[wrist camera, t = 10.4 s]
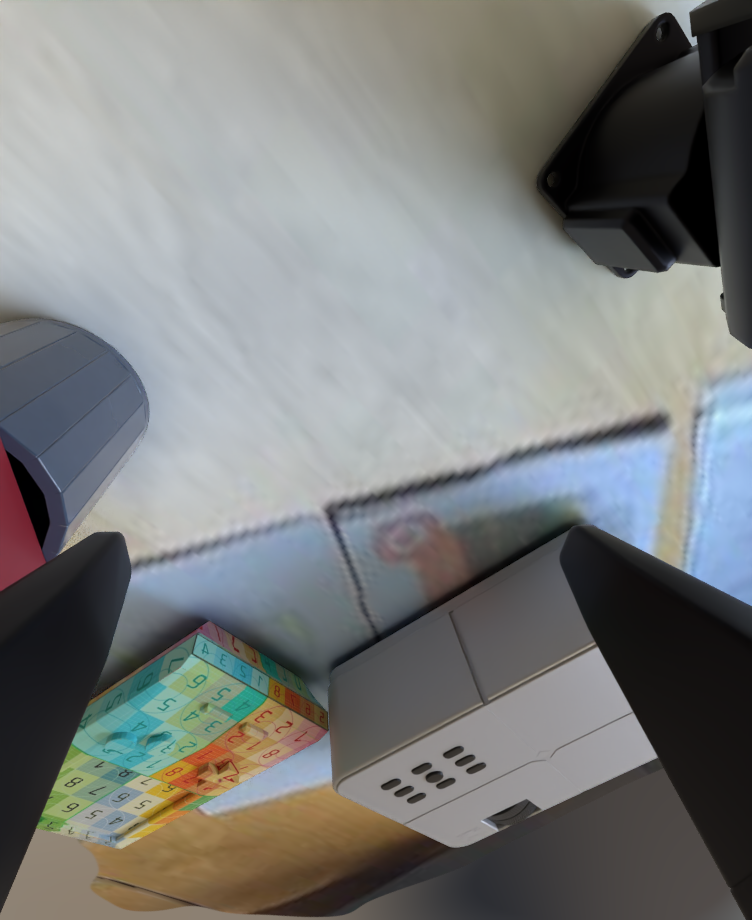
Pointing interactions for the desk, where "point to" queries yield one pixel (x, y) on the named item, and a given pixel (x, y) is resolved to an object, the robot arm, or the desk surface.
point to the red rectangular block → (15, 530)
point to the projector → (482, 709)
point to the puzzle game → (179, 738)
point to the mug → (65, 421)
